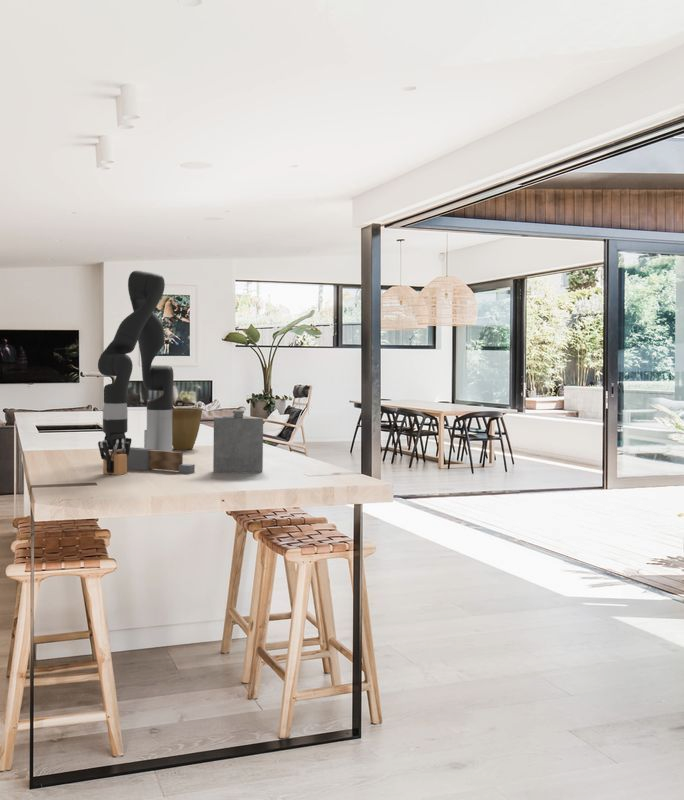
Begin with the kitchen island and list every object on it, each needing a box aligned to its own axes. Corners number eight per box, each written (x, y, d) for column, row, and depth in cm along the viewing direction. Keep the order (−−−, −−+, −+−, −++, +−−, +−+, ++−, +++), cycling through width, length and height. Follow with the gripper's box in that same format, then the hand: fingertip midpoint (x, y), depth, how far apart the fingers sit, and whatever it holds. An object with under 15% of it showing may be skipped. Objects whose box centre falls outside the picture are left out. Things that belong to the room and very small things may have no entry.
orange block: (103, 473, 269) (103, 454, 269) (111, 471, 273) (111, 453, 272) (118, 474, 267) (118, 455, 266) (126, 473, 270) (126, 454, 270)
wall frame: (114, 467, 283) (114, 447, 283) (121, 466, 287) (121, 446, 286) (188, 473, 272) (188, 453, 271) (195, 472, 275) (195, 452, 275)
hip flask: (262, 471, 281) (263, 410, 280) (262, 472, 277) (263, 411, 276) (213, 470, 280) (214, 409, 279) (212, 472, 276) (213, 410, 275)
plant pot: (208, 448, 343) (209, 408, 342) (189, 452, 329) (189, 410, 328) (176, 446, 348) (176, 406, 348) (156, 449, 334) (156, 408, 334)
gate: (144, 468, 280) (144, 450, 280) (146, 467, 281) (146, 449, 281) (180, 471, 274) (180, 452, 274) (182, 470, 276) (182, 452, 275)
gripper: (119, 415, 277) (119, 468, 278) (90, 418, 264) (90, 473, 264) (139, 416, 274) (138, 470, 275) (110, 419, 261) (110, 475, 261)
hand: (115, 471), depth 269 cm, fingers closed on orange block, 4 cm apart
